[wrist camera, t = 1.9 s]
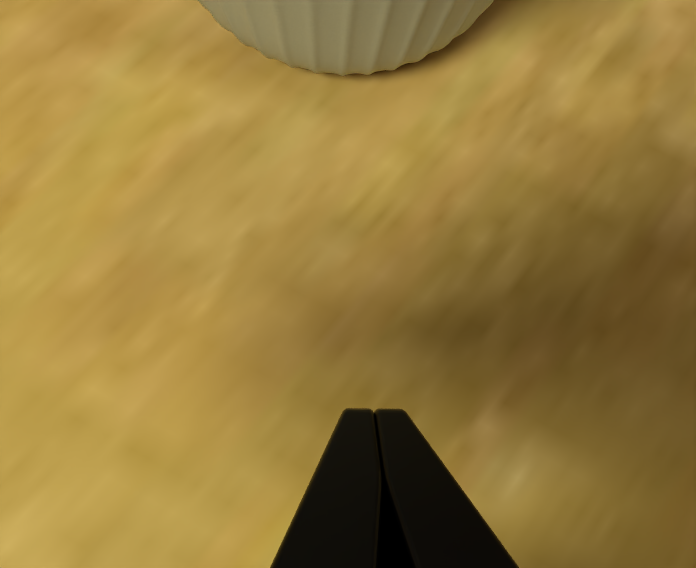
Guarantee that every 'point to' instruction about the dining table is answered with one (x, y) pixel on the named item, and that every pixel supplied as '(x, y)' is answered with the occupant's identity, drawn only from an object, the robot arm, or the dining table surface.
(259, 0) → the canister
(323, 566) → the robot arm
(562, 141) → the dining table surface
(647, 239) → the dining table surface
